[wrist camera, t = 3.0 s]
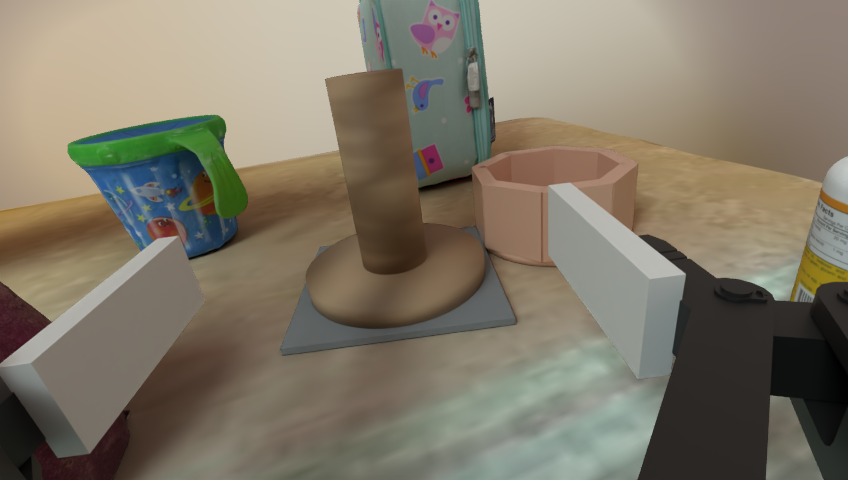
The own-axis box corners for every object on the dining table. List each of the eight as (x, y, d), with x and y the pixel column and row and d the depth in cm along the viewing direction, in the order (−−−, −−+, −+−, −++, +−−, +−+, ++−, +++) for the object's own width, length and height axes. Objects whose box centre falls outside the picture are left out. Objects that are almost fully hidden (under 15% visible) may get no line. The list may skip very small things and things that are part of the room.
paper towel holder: (292, 341, 22) (216, 100, 17) (325, 248, 32) (284, 80, 27) (503, 313, 22) (490, 64, 17) (470, 229, 32) (456, 57, 27)
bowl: (495, 276, 26) (490, 199, 24) (470, 216, 35) (465, 157, 33) (655, 254, 26) (665, 176, 24) (589, 200, 35) (592, 140, 33)
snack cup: (94, 254, 38) (37, 140, 34) (206, 212, 45) (171, 114, 41) (175, 296, 29) (110, 148, 25) (298, 235, 36) (265, 112, 32)
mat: (282, 355, 22) (280, 349, 22) (320, 251, 33) (319, 246, 32) (515, 324, 22) (515, 317, 21) (476, 230, 33) (475, 226, 32)
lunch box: (512, 189, 40) (503, -88, 31) (406, 209, 39) (364, -75, 30) (442, 139, 64) (425, -26, 55) (374, 150, 63) (346, -17, 54)
